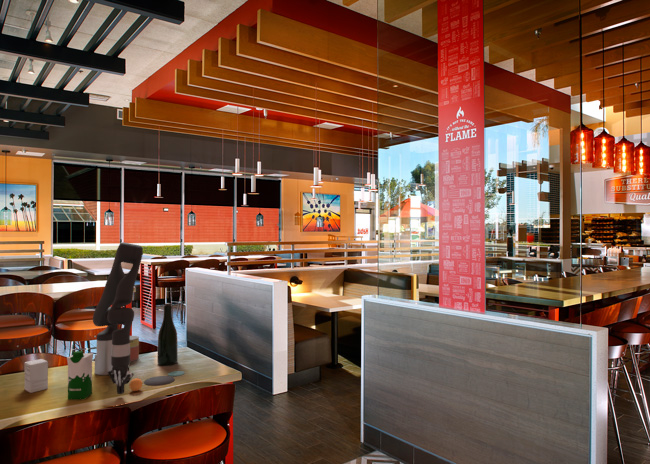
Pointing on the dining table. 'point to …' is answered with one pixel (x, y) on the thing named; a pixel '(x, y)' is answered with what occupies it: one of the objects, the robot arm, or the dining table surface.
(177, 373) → the disc
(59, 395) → the dining table surface
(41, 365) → the supplement box
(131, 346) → the canned food
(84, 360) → the milk carton
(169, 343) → the dark green wine bottle
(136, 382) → the ball
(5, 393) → the dining table surface
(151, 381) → the disc
